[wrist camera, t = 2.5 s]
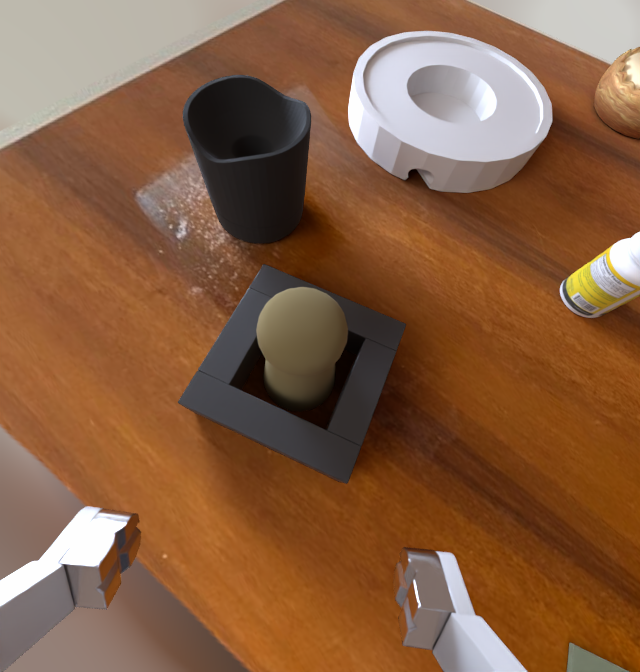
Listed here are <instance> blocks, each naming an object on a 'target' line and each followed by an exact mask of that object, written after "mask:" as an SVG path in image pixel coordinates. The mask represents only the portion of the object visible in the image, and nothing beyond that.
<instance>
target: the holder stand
mask: <svg viewBox="0 0 640 672" xmlns="http://www.w3.org/2000/svg"><path fill="white" fill-rule="evenodd" d="M297 287H307V288H314V289H317V290H319V291H321V292H324V293H326V294H328V295H329V296H330V297H331V298H333V299H334V300H335V301H336V302H337V303H338V304H339V306H340V307H341V309H342V311H343V312H344V315H345V319H346V322H347V327H348V335H347V343H346V345H345V348H344V350H346V351H349V352H351V353H353V354H356V357H355V360H354V362H353V364H352V367H351V369H350V371H349V374H348V376H347V379H346V381H345V383H344V386H343V388H342V390H341V393H340V395H339V398H338V400H337V402H336V405H335V407H334V410H333V412H332V414H331V417H330V419H329V421H328V424H327V426H326V429H323V428H321V427H319V426H317V425H315V424H312V423H310V422H308V421H306V420H304V419H302V418H299V417H297V416H295V415H293V414H291V413H289V412H287V411H284V410H282V409H280V408H278V407H276V406H274V405H271V404H269V403H267V402H265V401H263V400H261V399H259V398H256V397H254V396H252V395H250V394H248V393H246V392H243V391H241V390H242V389H243V387H244V385H245V383H246V381H247V379H248V378H249V376H250V374H251V372H252V370H253V369H254V367H255V365H256V363H257V361H258V359H259V358H260V356H261V354H262V351H261V349H260V348H259V345H258V339H257V332H256V329H257V324H258V319H259V316H260V313H261V311H262V310H263V308H264V306H265V305H266V303H267V302H268V301H269V300H270V299H272V298H273V297H274V296H275V295H276V294H278V293H280V292H282V291H285V290H287V289H290V288H297ZM405 327H406V324H405V323H403V322H400V321H398V320H395V319H393V318H391V317H388V316H386V315H384V314H381V313H379V312H377V311H374V310H372V309H369V308H367V307H365V306H362V305H360V304H358V303H355V302H353V301H350V300H348V299H346V298H343V297H341V296H339V295H336V294H334V293H332V292H329V291H327V290H324V289H322V288H320V287H317V286H315V285H313V284H310V283H308V282H305V281H303V280H301V279H298V278H296V277H294V276H291V275H289V274H286V273H284V272H282V271H279V270H277V269H275V268H272V267H270V266H268V265H265V264H263V266H262V268H261V269H260V271H259V272H258V274H257V276H256V277H255V279H254V281H253V282H252V284H251V285H250V287H249V289H248V290H247V292H246V293H245V295H244V297H243V298H242V300H241V301H240V303H239V305H238V306H237V308H236V310H235V311H234V313H233V314H232V316H231V318H230V319H229V321H228V322H227V324H226V326H225V327H224V329H223V330H222V332H221V334H220V335H219V337H218V338H217V340H216V342H215V343H214V345H213V347H212V348H211V350H210V351H209V353H208V355H207V356H206V358H205V359H204V361H203V363H202V364H201V366H200V367H199V369H198V370H199V371H197V372H196V374H195V375H194V377H193V379H192V380H191V382H190V383H189V385H188V387H187V388H186V390H185V392H184V393H183V395H182V396H181V398H180V400H179V401H178V403H179V404H181V405H182V406H184V407H186V408H187V409H189V410H191V411H192V412H194V413H196V414H198V415H200V416H202V417H204V418H207V419H209V420H211V421H213V422H215V423H217V424H219V425H221V426H223V427H225V428H227V429H230V430H232V431H234V432H236V433H238V434H240V435H242V436H244V437H246V438H248V439H250V440H253V441H255V442H257V443H259V444H261V445H263V446H265V447H267V448H269V449H271V450H273V451H276V452H278V453H280V454H282V455H284V456H286V457H288V458H290V459H292V460H294V461H296V462H299V463H301V464H303V465H305V466H307V467H309V468H311V469H313V470H315V471H317V472H319V473H322V474H324V475H326V476H328V477H330V478H332V479H334V480H336V481H338V482H342V483H346V484H347V483H348V481H349V479H350V476H351V473H352V471H353V468H354V465H355V462H356V460H357V457H358V454H359V452H360V449H361V446H362V444H363V441H364V438H365V435H366V433H367V430H368V427H369V425H370V422H371V419H372V416H373V414H374V411H375V408H376V405H377V403H378V400H379V397H380V395H381V392H382V389H383V386H384V384H385V381H386V378H387V376H388V373H389V370H390V367H391V365H392V362H393V359H394V357H395V354H396V351H397V348H398V346H399V343H400V340H401V337H402V335H403V332H404V329H405Z"/></svg>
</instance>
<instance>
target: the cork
mask: <svg viewBox="0 0 640 672" xmlns="http://www.w3.org/2000/svg"><path fill="white" fill-rule="evenodd" d="M256 332H257V339H258V345H259V348H260V349H261V351H262V353H263V355H264V357H265V359H266V361H265V367H264V373H263V379H264V386H265V389H266V391H267V393H268V395H269V397H270V398H271V399H272V400H273V401H274V402H275V403H276V404H277V405H279V406H281V407H283V408H285V409H287V410H290V411H299V412H302V411H307V410H312V409H314V408H316V407H317V406H319V405H321V404H322V403H323V402H324V401H325V400H326V399H327V398H328V397H329V396H330V394H331V392H332V389H333V387H334V384H335V362H336V361H337V360H338V359H339V358H340V356H341V354H342V352H343V350H344V348H345V345H346V343H347V335H348V327H347V322H346V319H345V315H344V312H343V311H342V309H341V307H340V306H339V304H338V303H337V302H336V301H335V300H334V299H333V298H331V297H330V296H329V295H328V294H326V293H324V292H321V291H319V290H317V289H314V288H307V287H297V288H290V289H287V290H285V291H282V292H280V293H278V294H276V295H275V296H274V297H273V298H272V299H270V300H269V301H268V302H267V303H266V305H265V306H264V308H263V310H262V311H261V313H260V316H259V319H258V324H257V329H256Z"/></svg>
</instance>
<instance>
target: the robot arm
mask: <svg viewBox="0 0 640 672" xmlns="http://www.w3.org/2000/svg"><path fill="white" fill-rule="evenodd" d="M138 523H139V516H138V514H137V513H130V512H123V511H116V510H109V509H104V508H96V507H88V506H86V507H85V508H83V509H82V510H80V511H79V513H78V514H77V515H76V516H75V517H74V518H73V520H72V521H71V522H70V523H69V524H68V526H67V527H66V528H65V529H64V531H63V532H62V533H61V534H60V535H59V537H58V538H57V539H56V540H55V542H54V543H53V544H52V545H51V546H50V548H49V549H48V550H47V551H46V552H45V554H44V555H43V556H42V557H41V559H40V560H39V561H32V562H30V563H28V564H27V565H25V566H24V567H22V568H20V569H19V570H17V571H15V572H14V573H12V574H10V575H9V576H7V577H6V578H4V579H2V580H1V581H0V672H3V671H4V670H6V669H7V668H8V667H9V666H10V665H11V664H12V663H14V662H15V661H16V660H17V659H18V658H19V657H20V656H22V655H23V654H24V653H25V652H26V651H27V650H29V649H30V648H31V647H32V646H33V645H34V644H35V643H37V642H38V641H39V640H40V639H41V638H42V637H43V636H45V635H46V634H47V633H48V632H49V631H50V630H51V629H53V628H54V627H55V626H56V625H57V624H58V623H59V622H61V621H62V620H63V619H64V618H65V617H66V616H67V615H69V614H70V613H71V612H72V611H73V610H74V609H75V607H84V608H95V609H107V608H108V606H109V604H110V602H111V601H112V599H113V597H114V595H115V594H116V592H117V590H118V588H119V586H120V585H121V575H120V574H121V573H123V572H124V571H125V570H127V569H128V568H129V567H130V566H131V564H132V563H133V561H134V559H135V557H136V555H137V552H138V549H139V546H140V541H141V531H140V530H139V529H138V528H137V527H136V526H137V524H138ZM400 559H401V561H400V562H398V563H397V564H396V567H395V570H394V579H393V583H394V594H395V600H396V601H397V603H398V604H399V606H400V607H401V611H400V614H399V616H398V620H399V626H400V632H401V638H402V644H403V646H408V647H414V648H421V649H427V650H433V651H432V653H433V654H434V656H435V658H436V660H437V661H438V663H439V665H440V666H441V668H442V670H443V671H444V672H528V671H527V670H526V669H525V668H524V667H523V666H522V664H521V663H520V662H519V661H518V660H517V658H516V657H515V656H514V655H513V654H512V653H511V651H510V650H509V649H508V648H507V647H506V645H505V644H504V643H503V642H502V641H501V640H500V638H499V637H498V636H497V635H496V634H495V632H494V631H493V630H492V629H491V628H490V627H489V625H488V624H487V623H486V622H485V621H484V619H483V618H482V617H481V616H476V615H475V612H474V609H473V606H472V603H471V600H470V598H469V595H468V592H467V589H466V586H465V583H464V580H463V578H462V575H461V572H460V569H459V566H458V563H457V561H456V558H455V556H454V555H453V554H452V553H449V552H439V551H434V550H427V549H417V548H408V547H403V548H402V549H401V552H400Z"/></svg>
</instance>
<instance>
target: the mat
mask: <svg viewBox="0 0 640 672" xmlns="http://www.w3.org/2000/svg"><path fill="white" fill-rule="evenodd" d="M567 672H629V671H627V670H625V669H623V668H621V667H619V666H617V665H615V664H613V663H611V662H609V661H607V660H605V659H603V658H601V657H599V656H597V655H595V654H593V653H591V652H589V651H587V650H585V649H583V648H580V647H578V646H576V645H574V644H572V643H569V654H568V664H567Z"/></svg>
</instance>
